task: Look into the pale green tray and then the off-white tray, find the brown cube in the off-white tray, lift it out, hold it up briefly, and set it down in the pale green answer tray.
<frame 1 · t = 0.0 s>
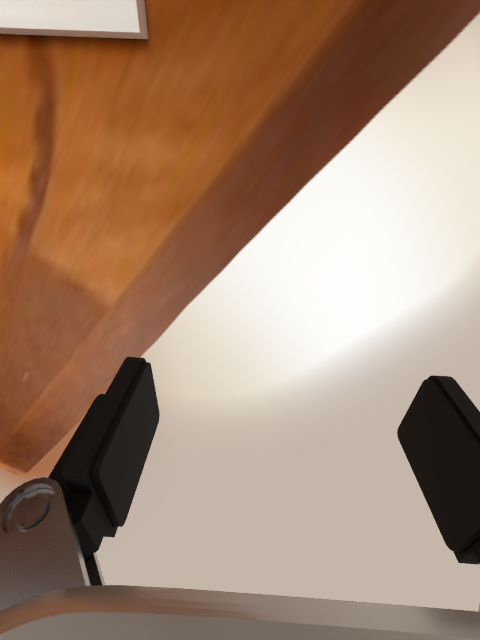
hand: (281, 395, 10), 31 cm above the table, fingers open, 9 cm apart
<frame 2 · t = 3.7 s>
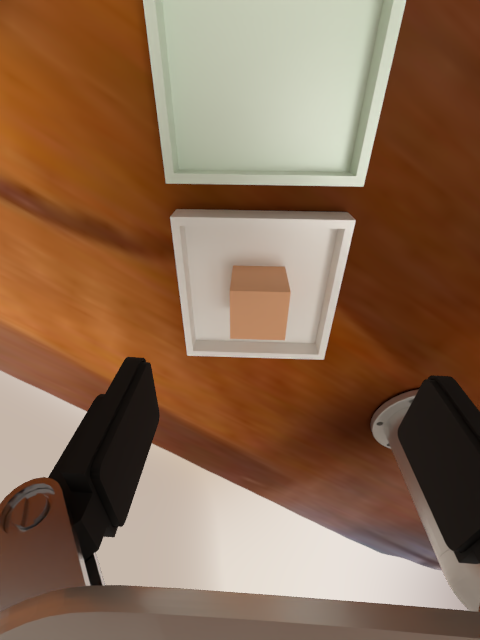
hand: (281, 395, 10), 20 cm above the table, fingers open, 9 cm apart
brown cube: (257, 289, 30), point 1 cm above the table, touching white tray
white tray: (257, 286, 30), on the table
green tray: (268, 59, 20), on the table
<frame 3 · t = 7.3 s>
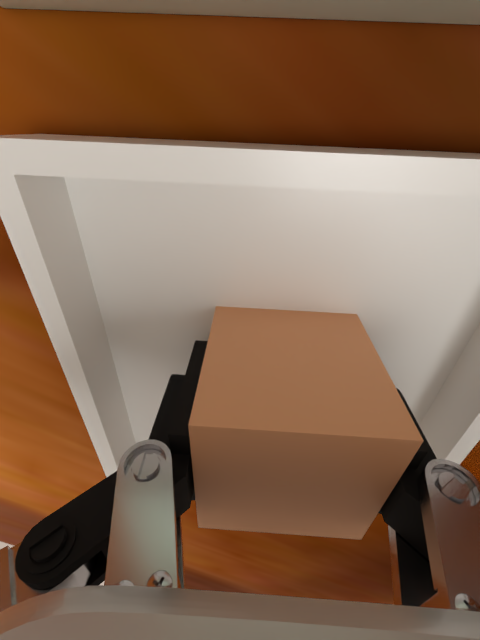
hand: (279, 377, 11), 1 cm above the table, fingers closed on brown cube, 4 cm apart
brown cube: (278, 362, 12), point 1 cm above the table, touching gripper, white tray
white tray: (277, 353, 12), on the table
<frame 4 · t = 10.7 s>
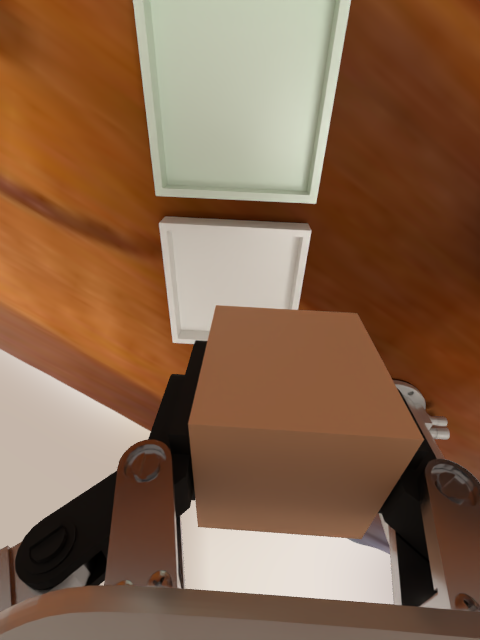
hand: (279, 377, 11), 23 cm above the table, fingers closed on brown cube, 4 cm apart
brown cube: (278, 362, 12), point 23 cm above the table, touching gripper
white tray: (234, 283, 35), on the table
green tray: (239, 101, 25), on the table
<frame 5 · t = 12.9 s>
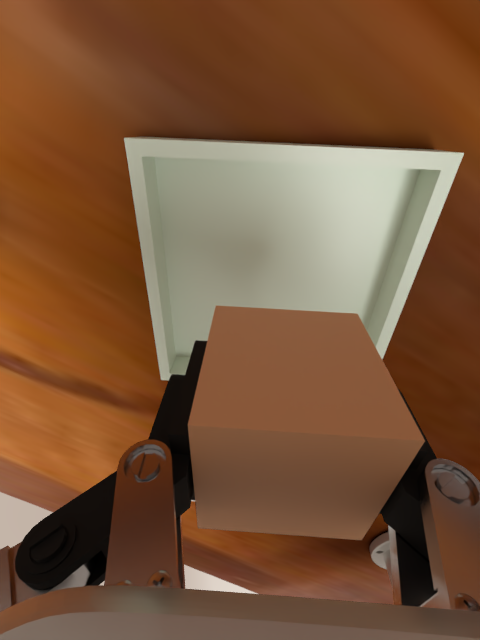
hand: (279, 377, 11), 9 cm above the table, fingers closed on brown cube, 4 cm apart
brown cube: (278, 362, 12), point 9 cm above the table, touching gripper
green tray: (272, 276, 19), on the table
when the fingers open (3 cm above the table, at t = 14.4 s): brown cube drops 1 cm, resting on green tray.
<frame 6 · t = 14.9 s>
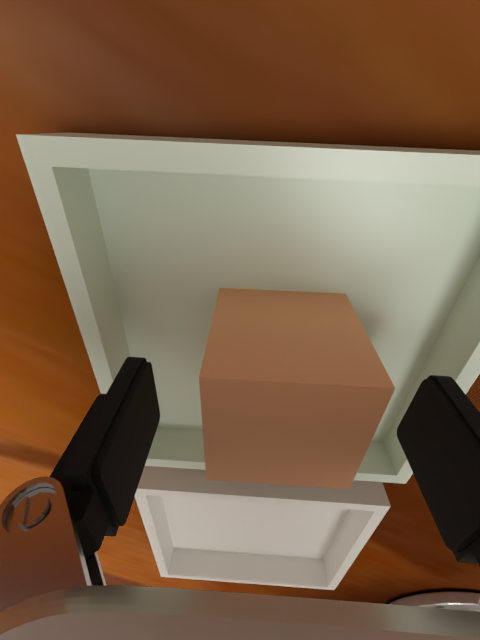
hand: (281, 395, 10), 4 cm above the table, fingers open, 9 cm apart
brown cube: (276, 340, 13), point 1 cm above the table, touching green tray
white tray: (252, 510, 23), on the table
green tray: (275, 332, 14), on the table
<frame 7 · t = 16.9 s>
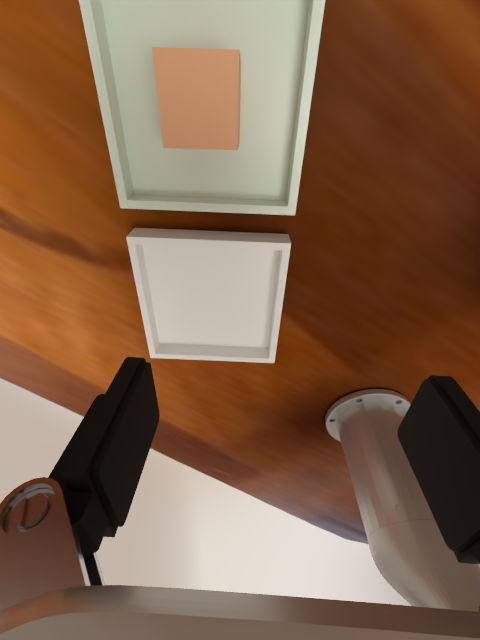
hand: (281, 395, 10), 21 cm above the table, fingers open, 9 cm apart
brown cube: (207, 103, 22), point 1 cm above the table, touching green tray
white tray: (213, 296, 33), on the table
green tray: (208, 103, 23), on the table
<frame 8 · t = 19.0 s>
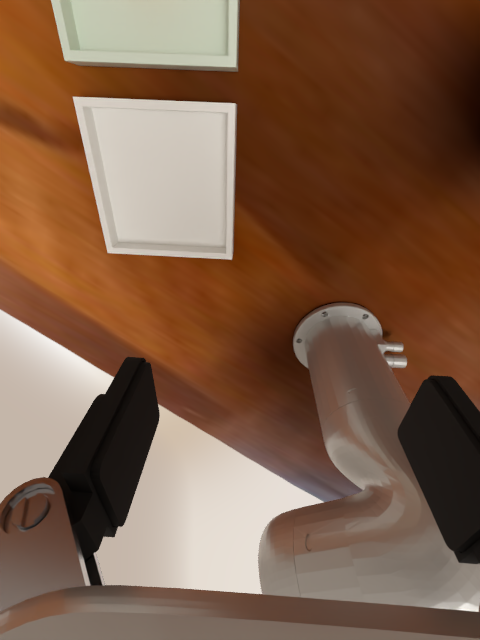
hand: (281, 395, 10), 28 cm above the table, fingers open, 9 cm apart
white tray: (168, 184, 33), on the table
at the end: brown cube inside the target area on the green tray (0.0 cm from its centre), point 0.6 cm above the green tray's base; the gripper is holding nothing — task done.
